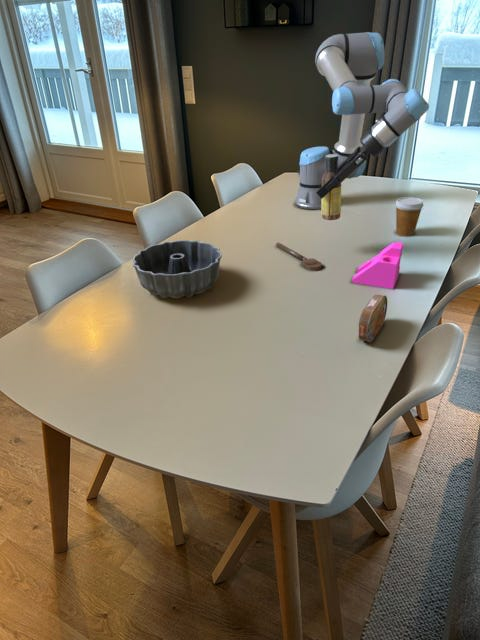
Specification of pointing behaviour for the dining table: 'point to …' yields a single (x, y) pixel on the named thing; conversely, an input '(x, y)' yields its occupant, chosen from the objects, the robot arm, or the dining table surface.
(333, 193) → the sauce bottle
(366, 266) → the bracket
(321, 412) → the dining table surface
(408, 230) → the disposable coffee cup
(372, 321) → the tin
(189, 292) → the bundt pan
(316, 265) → the wooden spoon
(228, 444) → the dining table surface
